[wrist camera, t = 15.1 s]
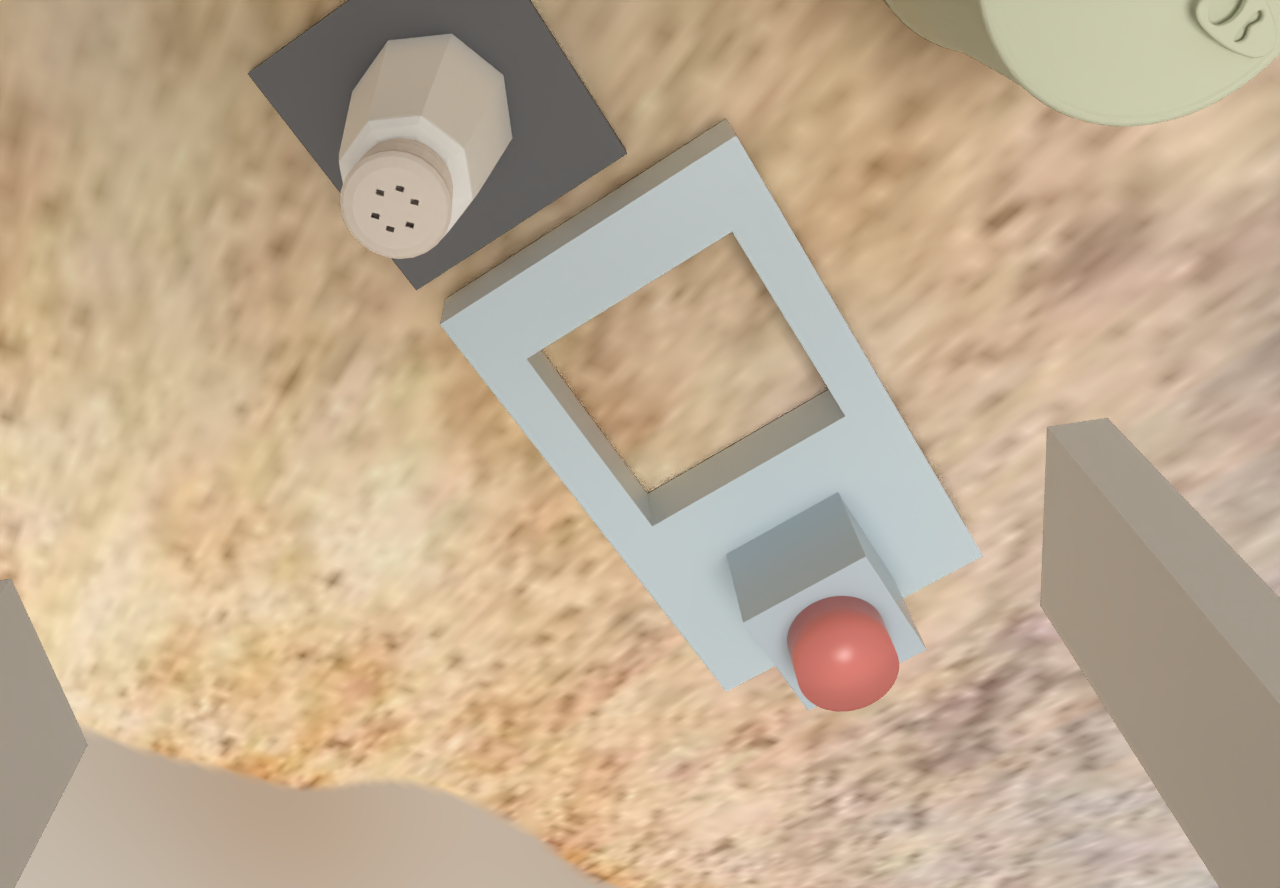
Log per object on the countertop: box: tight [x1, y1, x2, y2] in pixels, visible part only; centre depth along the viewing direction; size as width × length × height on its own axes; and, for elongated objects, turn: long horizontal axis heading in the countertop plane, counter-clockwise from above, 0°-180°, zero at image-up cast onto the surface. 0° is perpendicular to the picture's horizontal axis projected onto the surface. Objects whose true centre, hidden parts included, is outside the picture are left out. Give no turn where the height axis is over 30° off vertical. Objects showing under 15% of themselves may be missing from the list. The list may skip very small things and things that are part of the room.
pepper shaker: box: [339, 34, 512, 259], centre depth 34 cm, size 5×5×11 cm
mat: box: [248, 0, 627, 290], centre depth 39 cm, size 9×9×1 cm
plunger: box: [787, 596, 899, 711], centre depth 42 cm, size 4×4×2 cm
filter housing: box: [440, 119, 983, 711], centre depth 43 cm, size 20×12×7 cm, turn 32°
